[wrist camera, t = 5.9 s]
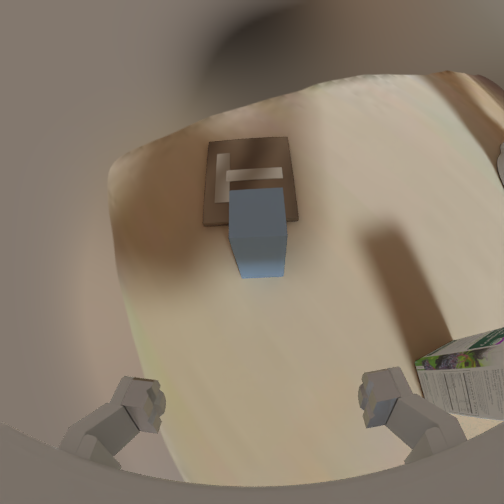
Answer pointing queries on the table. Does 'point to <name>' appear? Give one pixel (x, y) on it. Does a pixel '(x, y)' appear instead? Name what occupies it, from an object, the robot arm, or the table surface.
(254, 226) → the slate block
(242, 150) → the letter card
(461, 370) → the syrup box
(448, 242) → the table surface
